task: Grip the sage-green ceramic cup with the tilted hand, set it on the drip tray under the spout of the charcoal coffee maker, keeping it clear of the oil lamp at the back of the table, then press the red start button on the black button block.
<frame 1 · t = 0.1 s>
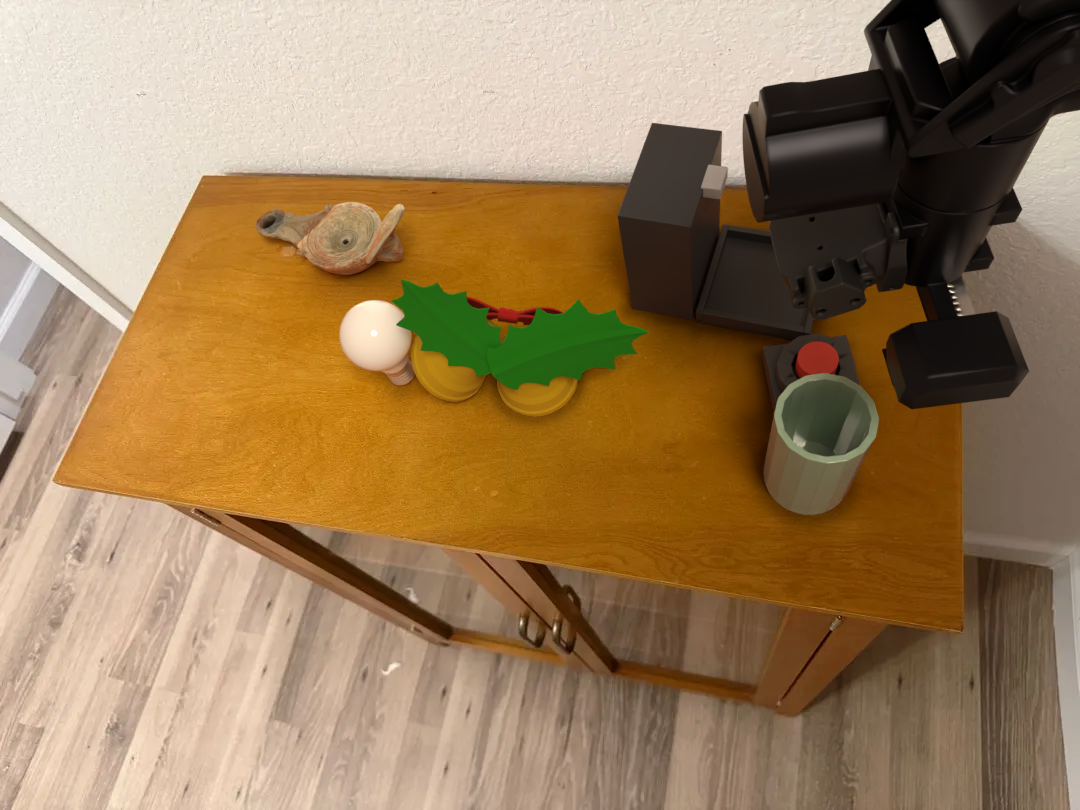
hand: (886, 327, 53), 15 cm above the table, tool pointing down, fingers open, 9 cm apart
coffee maker: (763, 287, 73), on the table
ornament: (540, 376, 73), on the table
button block: (810, 387, 67), on the table
start button: (816, 363, 63), point 4 cm above the table, slide at 0.1 cm
oil lamp: (349, 253, 84), on the table
cup: (805, 475, 64), on the table
lightbulb: (405, 377, 76), on the table
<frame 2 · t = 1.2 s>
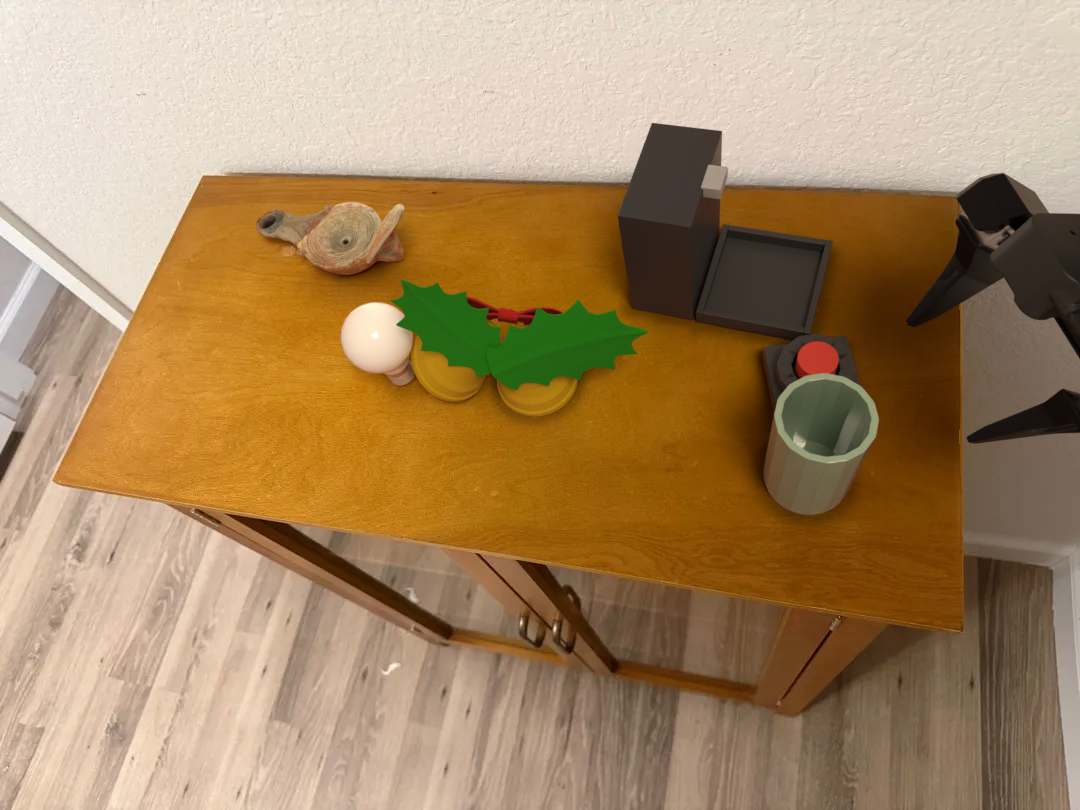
hand: (938, 380, 52), 13 cm above the table, tool tilted 45°, fingers open, 9 cm apart
nothing on the table moved.
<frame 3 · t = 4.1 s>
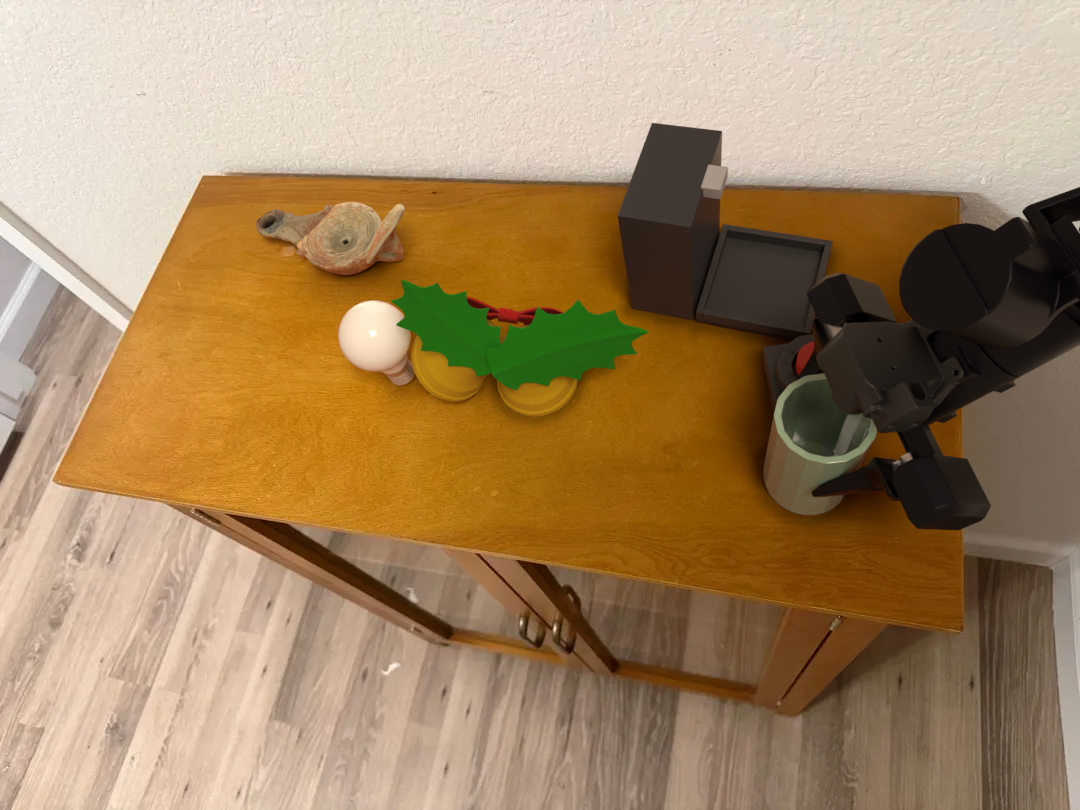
hand: (797, 450, 58), 7 cm above the table, tool tilted 45°, fingers closed on cup, 7 cm apart
cup: (805, 476, 64), on the table, touching gripper
everything else where it was.
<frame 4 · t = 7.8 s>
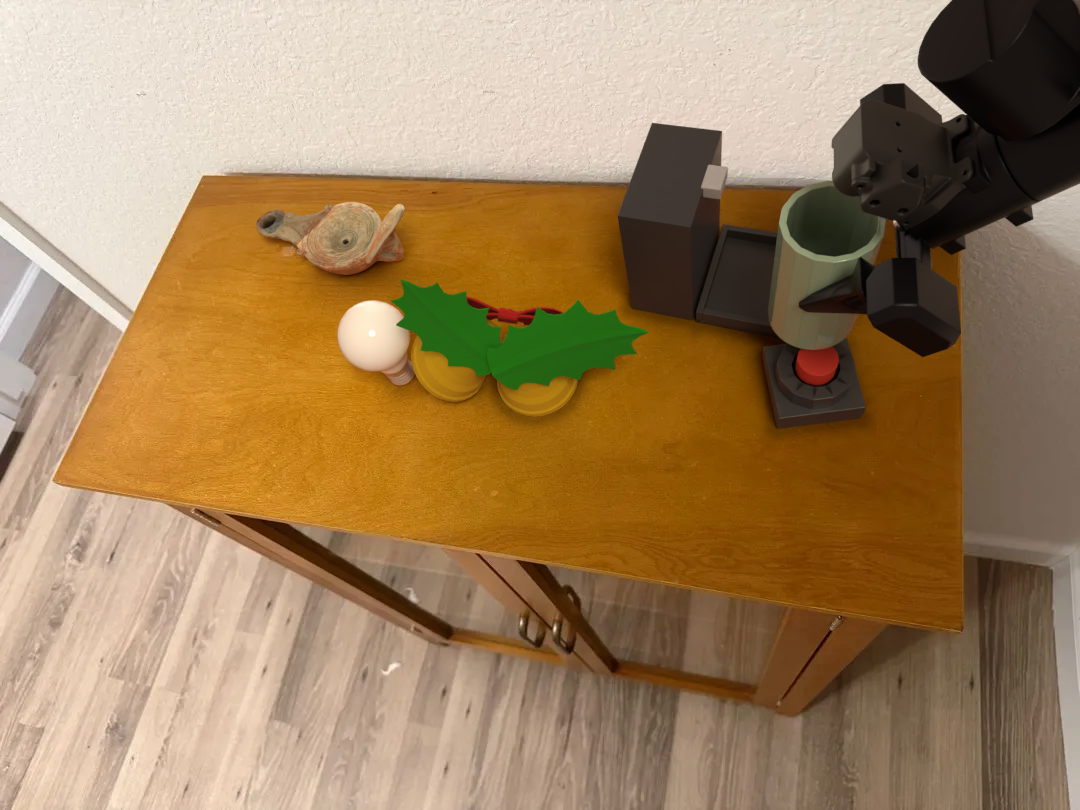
hand: (802, 265, 57), 13 cm above the table, tool tilted 45°, fingers closed on cup, 7 cm apart
cup: (811, 313, 63), point 7 cm above the table, touching gripper
everything else where it was.
when the fingers open (7 cm above the table, at t = 11.8 s): cup stays where it is, resting on coffee maker.
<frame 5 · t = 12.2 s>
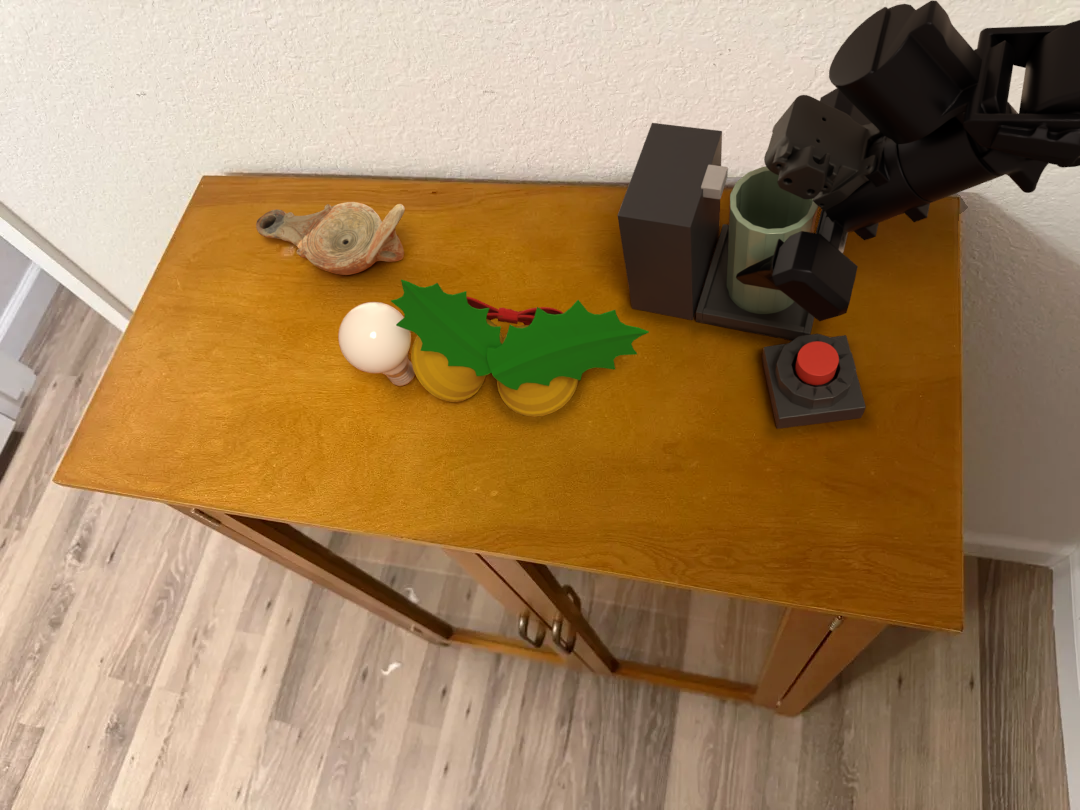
hand: (752, 235, 66), 7 cm above the table, tool tilted 45°, fingers open, 9 cm apart
cup: (763, 283, 72), point 1 cm above the table, touching coffee maker
everything else where it was.
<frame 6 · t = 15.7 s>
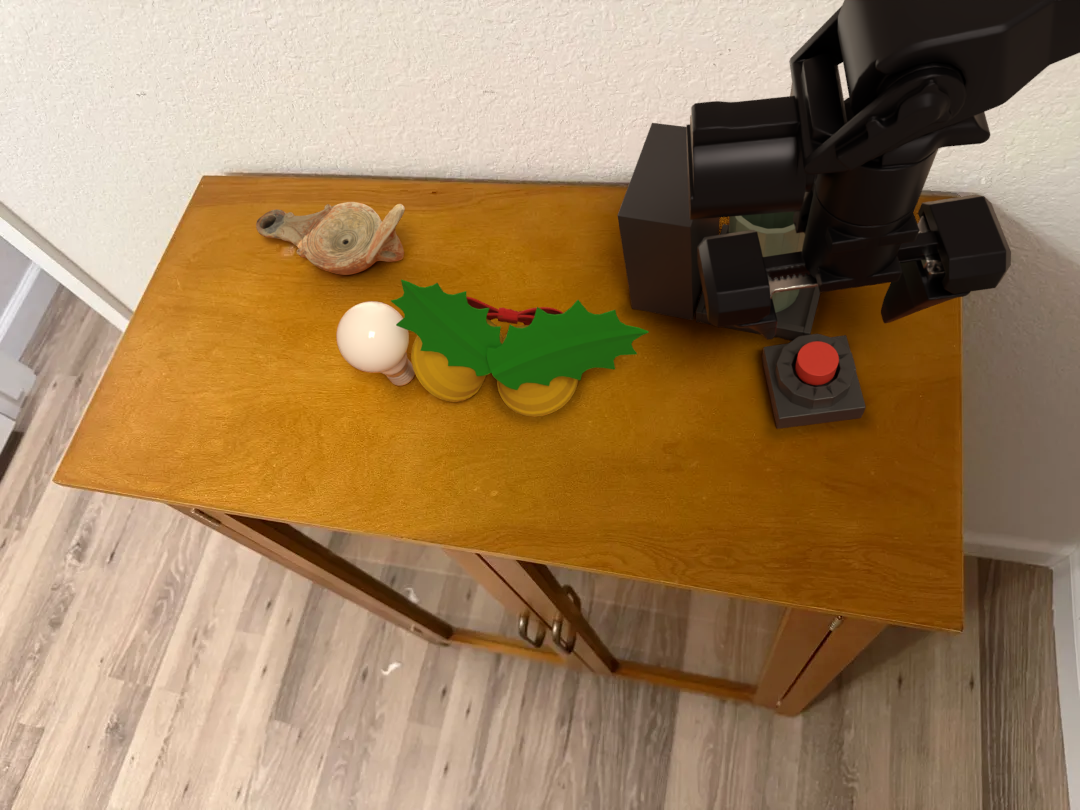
hand: (825, 325, 58), 10 cm above the table, tool pointing down, fingers open, 8 cm apart
nothing on the table moved.
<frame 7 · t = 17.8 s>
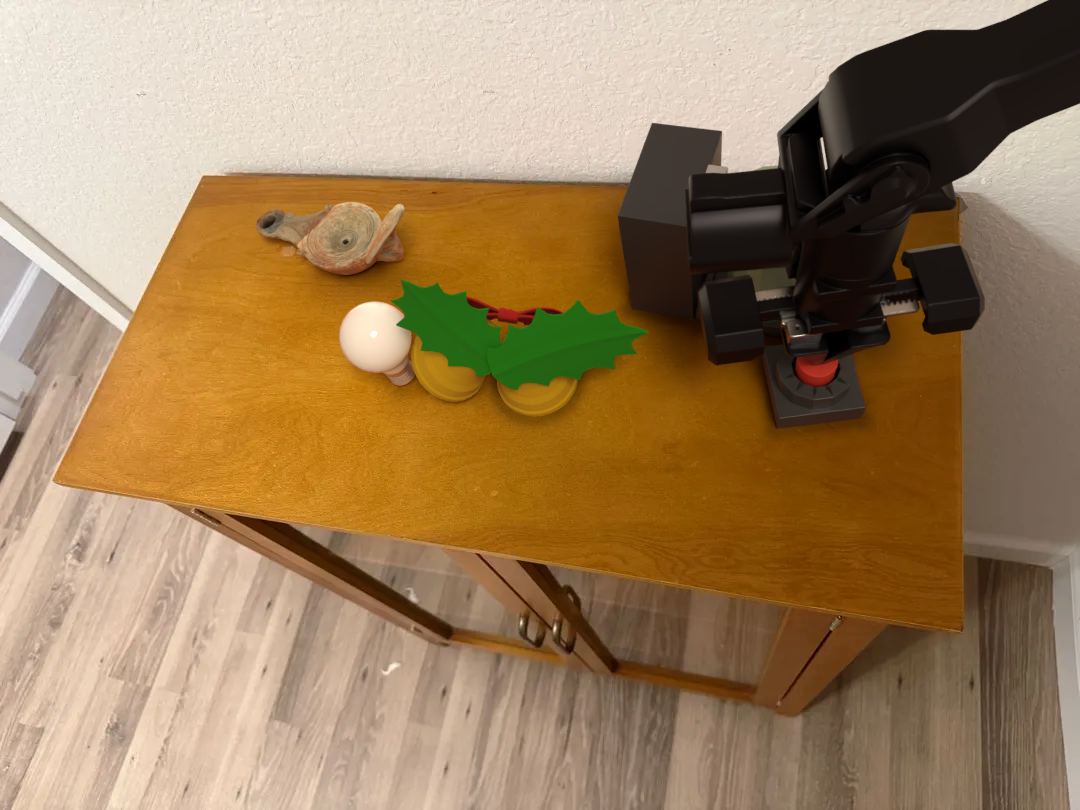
hand: (818, 359, 63), 5 cm above the table, tool pointing down, fingers closed, pressing on start button
start button: (816, 364, 64), point 4 cm above the table, slide at -0.1 cm, touching gripper
everything else where it was.
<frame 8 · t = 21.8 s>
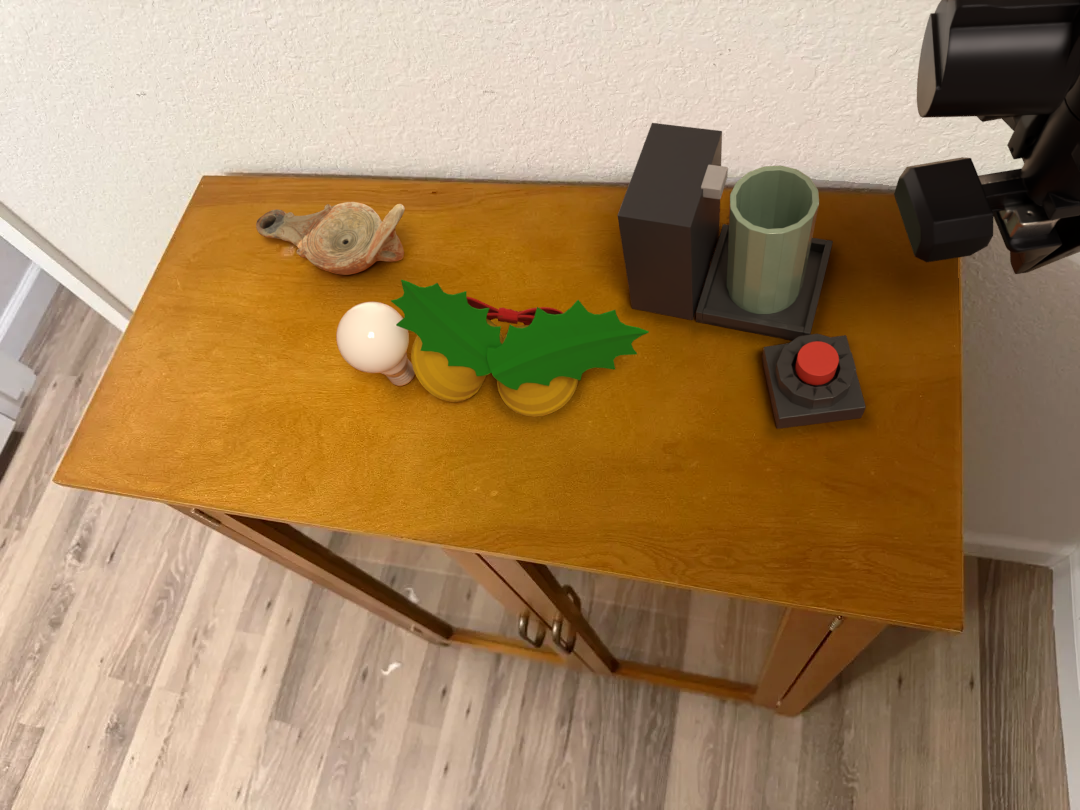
hand: (1018, 267, 55), 13 cm above the table, tool pointing down, fingers closed
start button: (816, 363, 63), point 4 cm above the table, slide at 0.1 cm
everything else where it was.
at the end: cup 0.0 cm off-centre on the coffee maker, point 0.6 cm above the coffee maker's base; cup touching coffee maker; start button pushed in 1.1 cm at the most during the clip, back to where it started at the end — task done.
